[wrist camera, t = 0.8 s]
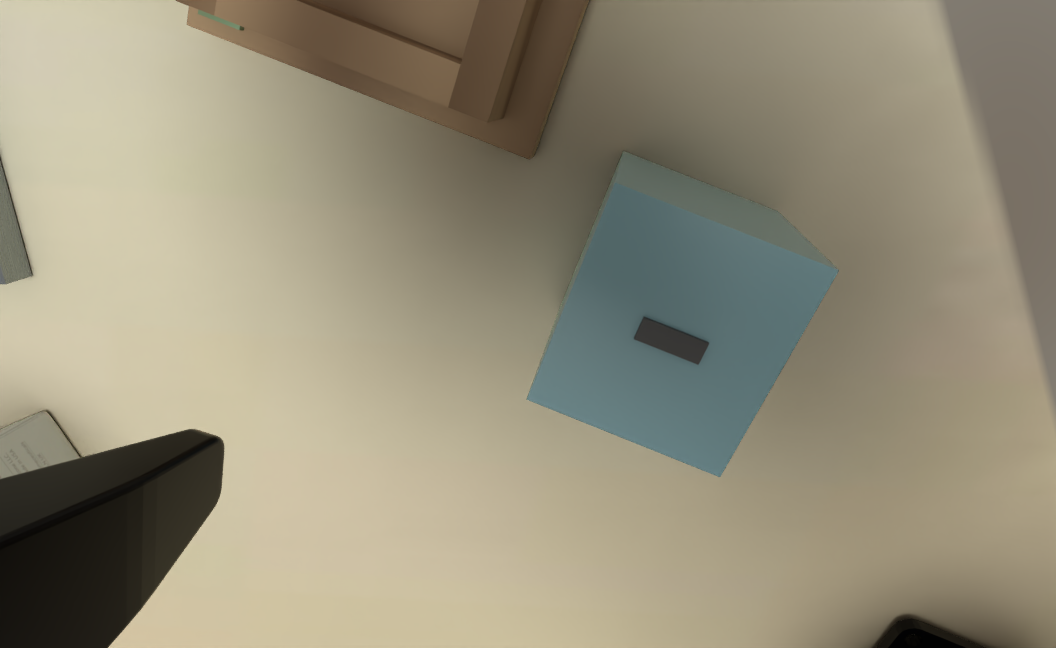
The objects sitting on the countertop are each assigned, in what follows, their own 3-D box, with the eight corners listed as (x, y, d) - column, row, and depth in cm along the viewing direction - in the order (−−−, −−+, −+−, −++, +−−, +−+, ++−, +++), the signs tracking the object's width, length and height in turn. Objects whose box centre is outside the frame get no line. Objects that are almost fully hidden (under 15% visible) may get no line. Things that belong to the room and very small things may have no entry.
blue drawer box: (777, 211, 18) (840, 271, 12) (697, 365, 20) (720, 480, 14) (623, 150, 18) (614, 183, 12) (558, 309, 20) (525, 401, 14)
